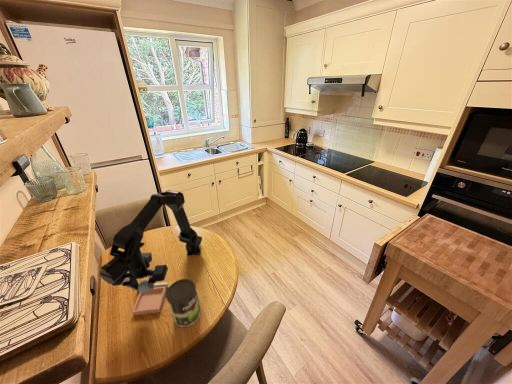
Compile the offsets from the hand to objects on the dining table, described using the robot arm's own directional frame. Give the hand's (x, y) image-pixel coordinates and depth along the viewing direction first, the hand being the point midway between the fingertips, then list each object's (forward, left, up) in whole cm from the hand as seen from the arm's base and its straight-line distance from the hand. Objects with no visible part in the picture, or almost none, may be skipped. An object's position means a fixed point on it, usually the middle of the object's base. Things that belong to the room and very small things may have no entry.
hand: (146, 288), depth 85 cm
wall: (+1, -6, -8) cm, 10 cm away
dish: (0, 0, -8) cm, 8 cm away
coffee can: (-16, +7, -8) cm, 19 cm away
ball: (0, 0, -1) cm, 1 cm away
